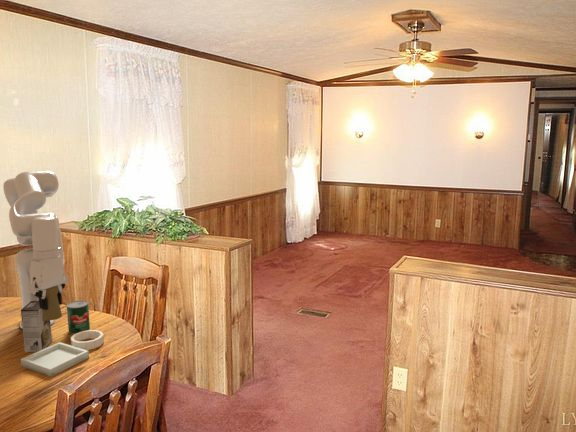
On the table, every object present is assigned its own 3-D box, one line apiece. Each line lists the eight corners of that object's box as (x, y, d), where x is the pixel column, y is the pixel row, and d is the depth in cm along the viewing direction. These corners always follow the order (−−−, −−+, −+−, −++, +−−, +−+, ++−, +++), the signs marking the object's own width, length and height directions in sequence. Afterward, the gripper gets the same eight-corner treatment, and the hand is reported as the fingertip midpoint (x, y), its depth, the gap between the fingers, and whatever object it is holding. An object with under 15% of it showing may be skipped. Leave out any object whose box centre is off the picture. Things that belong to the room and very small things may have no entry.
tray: (21, 366, 162) (20, 359, 162) (60, 348, 175) (59, 342, 175) (50, 376, 155) (50, 369, 155) (89, 357, 168) (88, 350, 168)
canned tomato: (77, 335, 186) (75, 308, 184) (64, 331, 190) (61, 305, 188) (94, 328, 193) (92, 302, 191) (81, 324, 197) (79, 299, 195)
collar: (65, 346, 177) (64, 338, 176) (89, 335, 187) (89, 328, 186) (85, 352, 172) (85, 344, 171) (109, 341, 182) (109, 333, 181)
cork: (54, 321, 159) (51, 289, 157) (38, 319, 160) (35, 288, 158) (65, 314, 165) (63, 283, 163) (50, 312, 166) (47, 282, 164)
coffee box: (35, 341, 181) (31, 300, 178) (52, 340, 182) (49, 300, 179) (24, 352, 172) (19, 309, 169) (42, 351, 173) (38, 309, 170)
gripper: (61, 247, 168) (65, 297, 171) (14, 258, 153) (20, 312, 156) (76, 249, 164) (79, 300, 167) (30, 261, 149) (35, 317, 153)
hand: (51, 306), depth 162 cm, fingers closed on cork, 4 cm apart
